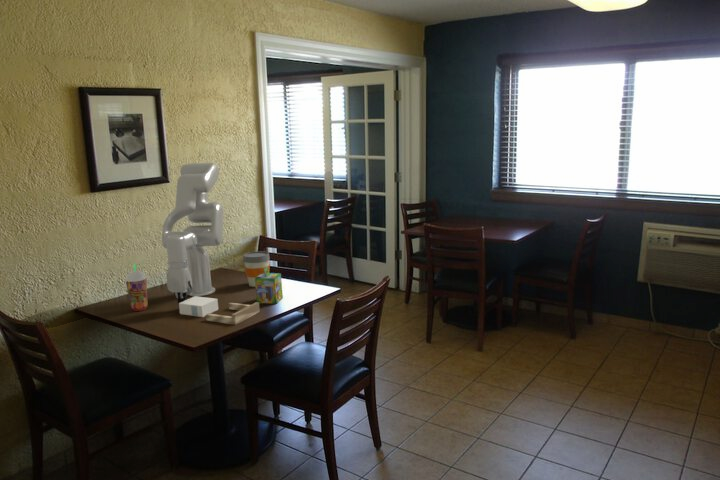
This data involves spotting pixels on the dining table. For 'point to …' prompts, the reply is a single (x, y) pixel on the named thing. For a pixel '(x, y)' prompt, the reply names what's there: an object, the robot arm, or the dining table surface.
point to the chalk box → (268, 287)
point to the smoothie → (137, 290)
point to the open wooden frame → (241, 315)
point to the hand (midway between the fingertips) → (182, 306)
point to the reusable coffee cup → (255, 265)
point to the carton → (198, 306)
